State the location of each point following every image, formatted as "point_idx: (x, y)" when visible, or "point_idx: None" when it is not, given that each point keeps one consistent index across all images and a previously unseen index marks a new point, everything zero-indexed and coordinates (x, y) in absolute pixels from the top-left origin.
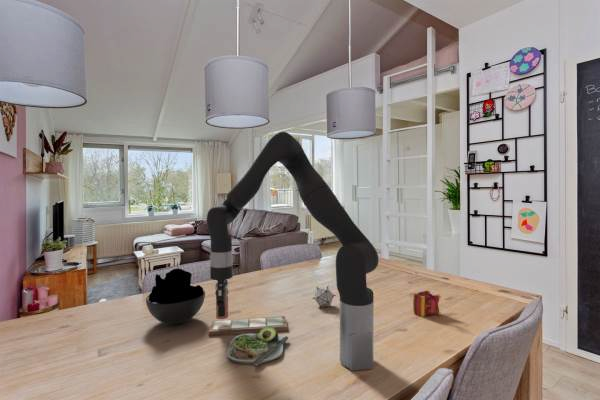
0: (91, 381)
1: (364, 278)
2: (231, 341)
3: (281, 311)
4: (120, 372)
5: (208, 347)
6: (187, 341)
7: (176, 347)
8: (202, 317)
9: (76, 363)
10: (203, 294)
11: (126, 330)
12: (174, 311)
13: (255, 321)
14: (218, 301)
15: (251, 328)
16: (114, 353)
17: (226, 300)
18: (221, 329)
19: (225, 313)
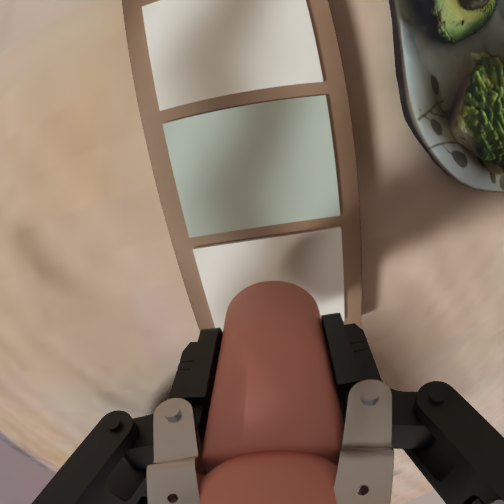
0: None
1: None
2: (483, 185)
3: (11, 3)
4: (485, 416)
5: (462, 283)
6: (386, 374)
7: (421, 384)
8: (134, 382)
9: (414, 478)
10: (142, 495)
11: None
12: None
13: (209, 54)
14: (415, 453)
15: (337, 67)
16: (397, 464)
17: (318, 412)
18: (342, 276)
19: (312, 318)
